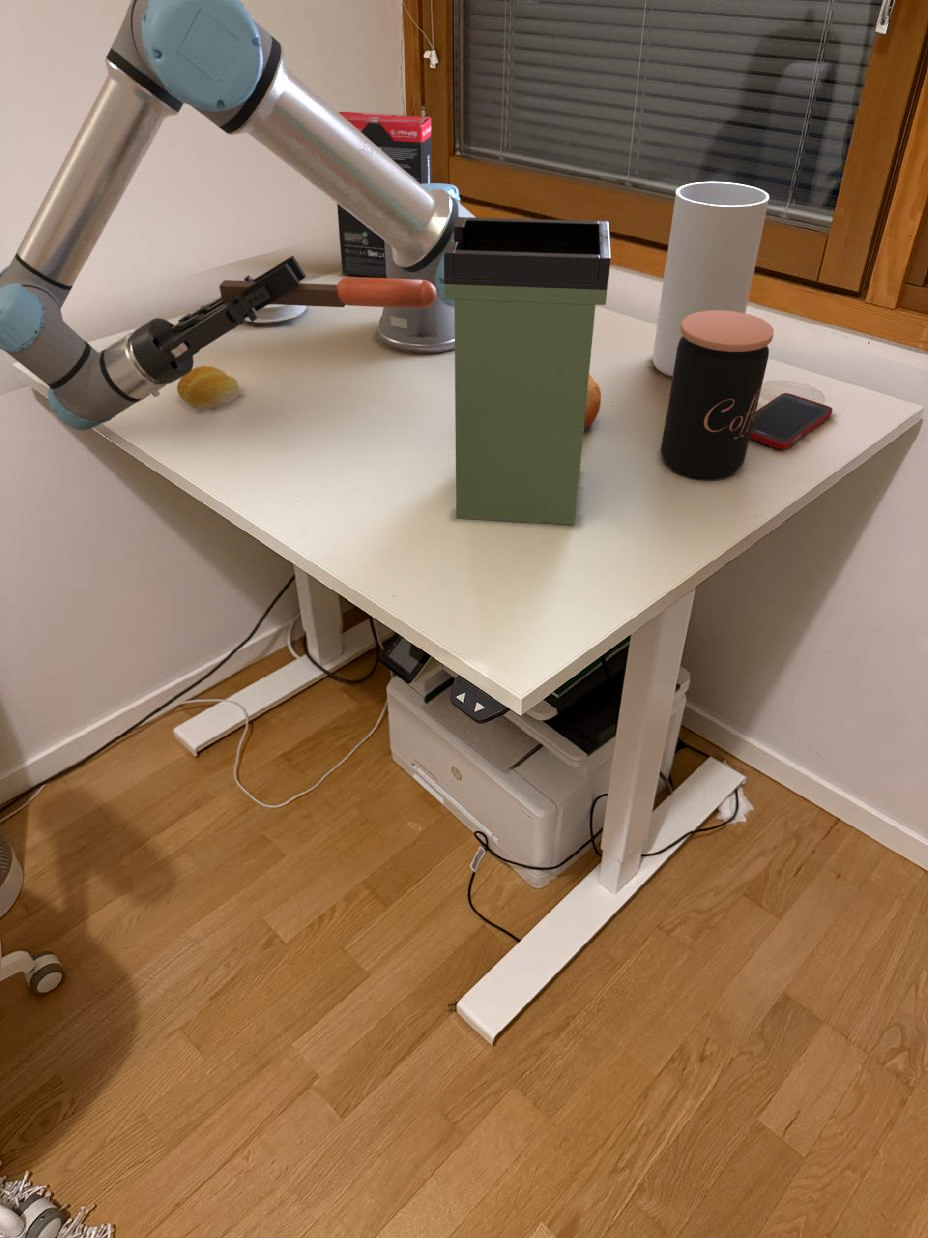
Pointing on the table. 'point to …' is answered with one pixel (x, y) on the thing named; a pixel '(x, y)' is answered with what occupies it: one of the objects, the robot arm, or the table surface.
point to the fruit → (592, 402)
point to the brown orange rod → (349, 293)
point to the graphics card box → (412, 153)
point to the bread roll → (207, 388)
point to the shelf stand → (520, 399)
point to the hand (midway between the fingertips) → (295, 270)
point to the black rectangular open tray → (528, 253)
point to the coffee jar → (714, 393)
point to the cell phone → (787, 420)
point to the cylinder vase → (708, 257)
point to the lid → (277, 313)
